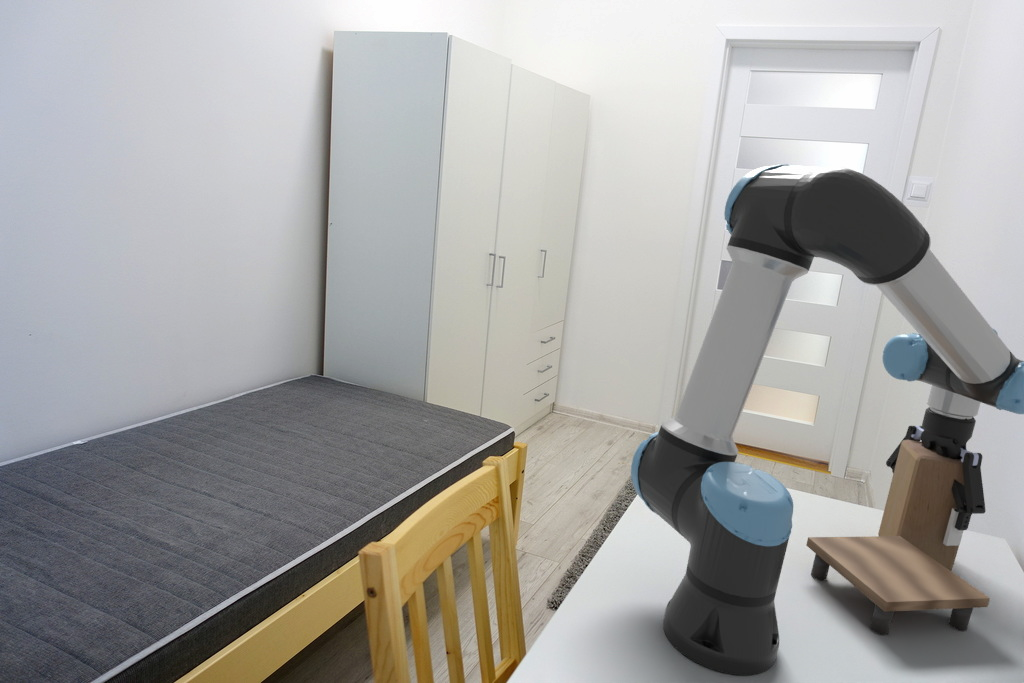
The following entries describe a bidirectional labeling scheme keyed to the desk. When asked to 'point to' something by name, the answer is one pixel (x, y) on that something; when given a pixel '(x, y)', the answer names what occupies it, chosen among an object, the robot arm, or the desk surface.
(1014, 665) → the desk surface
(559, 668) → the desk surface
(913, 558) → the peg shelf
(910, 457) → the wooden block
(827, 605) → the desk surface
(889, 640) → the desk surface
